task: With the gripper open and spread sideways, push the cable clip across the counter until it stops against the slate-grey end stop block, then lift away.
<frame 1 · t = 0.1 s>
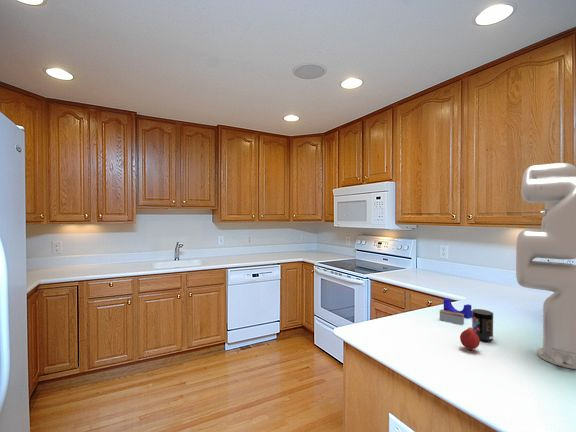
hand: (556, 252, 127), 31 cm above the worktop, tool pointing down, fingers open, 9 cm apart
end stop block: (451, 321, 127), on the worktop
supplement container: (482, 339, 109), on the worktop
cable clip: (458, 314, 137), on the worktop
onion: (469, 350, 100), on the worktop
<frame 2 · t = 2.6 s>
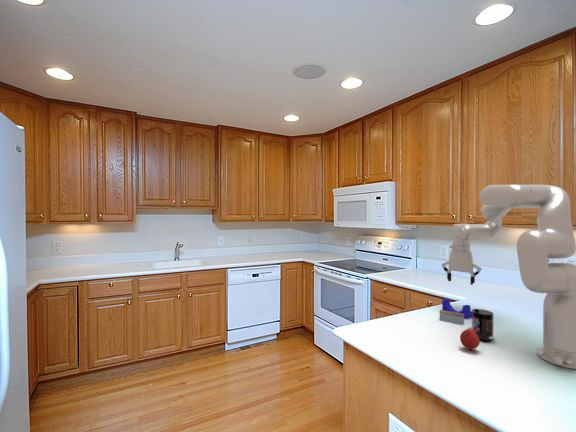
hand: (460, 282, 143), 14 cm above the worktop, tool pointing down, fingers open, 9 cm apart
cable clip: (456, 315, 137), on the worktop
everything else where it was.
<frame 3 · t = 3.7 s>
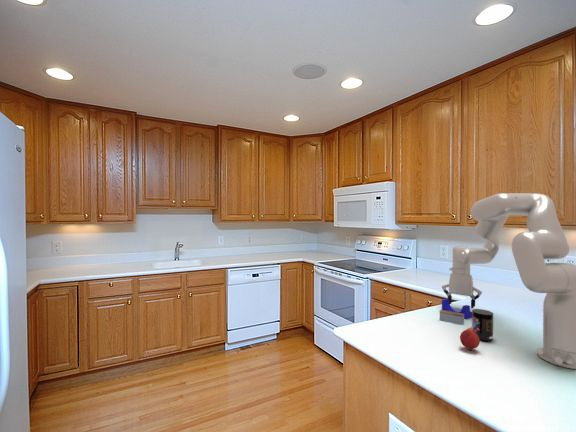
hand: (461, 305, 143), 2 cm above the worktop, tool pointing down, fingers open, 9 cm apart
nothing on the worktop moved.
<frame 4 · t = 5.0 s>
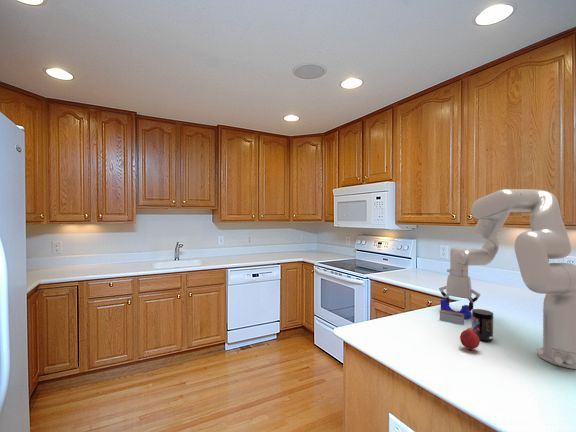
hand: (458, 308, 139), 2 cm above the worktop, tool pointing down, fingers open, 9 cm apart
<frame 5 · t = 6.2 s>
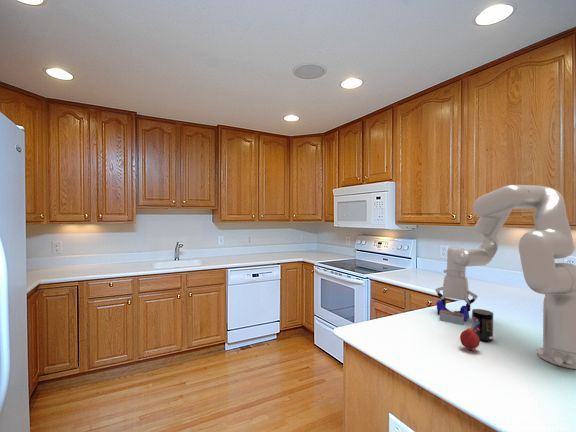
hand: (455, 309, 135), 3 cm above the worktop, tool pointing down, fingers open, 9 cm apart
cable clip: (453, 316, 134), on the worktop, touching gripper
everything else where it was.
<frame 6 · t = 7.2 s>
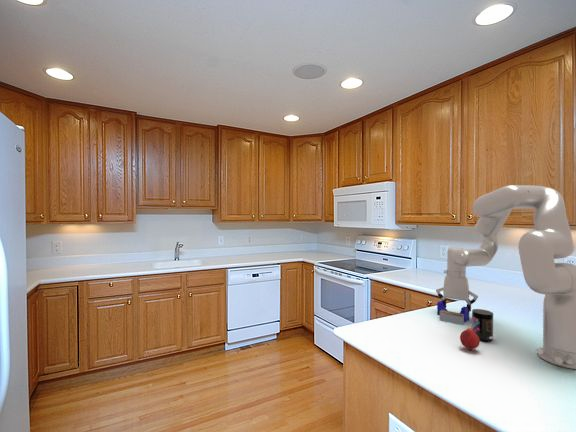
hand: (456, 310, 135), 3 cm above the worktop, tool pointing down, fingers open, 9 cm apart
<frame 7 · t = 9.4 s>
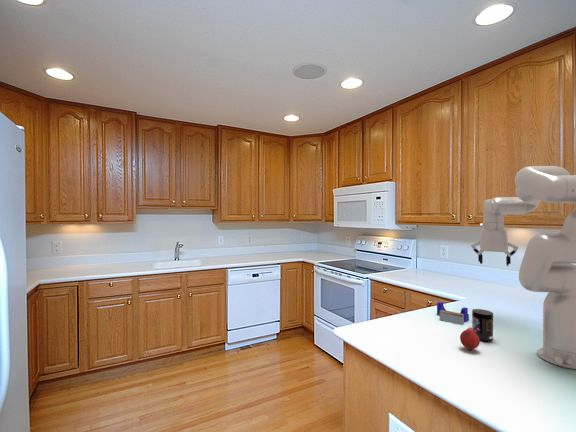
hand: (494, 264, 129), 25 cm above the worktop, tool pointing down, fingers open, 9 cm apart
cable clip: (452, 318, 132), on the worktop
everything else where it was.
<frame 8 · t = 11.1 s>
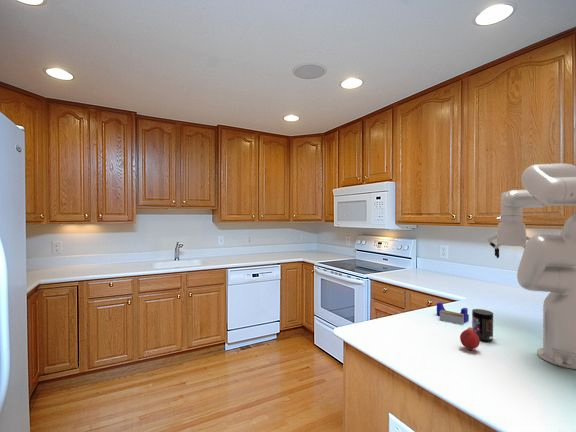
hand: (511, 258, 126), 28 cm above the worktop, tool pointing down, fingers open, 9 cm apart
nothing on the worktop moved.
at the end: cable clip inside the target area (0.5 cm from its centre), on the worktop; cable clip tilted 0° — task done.
